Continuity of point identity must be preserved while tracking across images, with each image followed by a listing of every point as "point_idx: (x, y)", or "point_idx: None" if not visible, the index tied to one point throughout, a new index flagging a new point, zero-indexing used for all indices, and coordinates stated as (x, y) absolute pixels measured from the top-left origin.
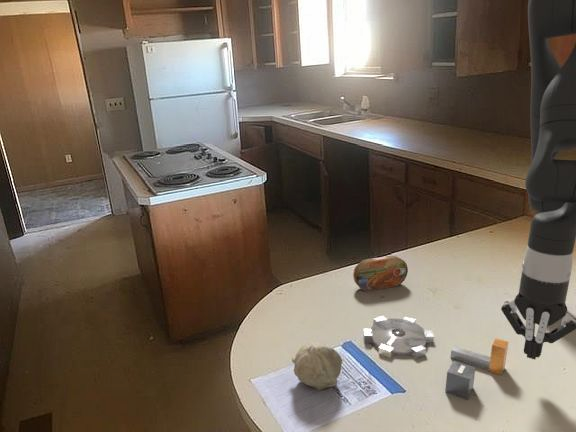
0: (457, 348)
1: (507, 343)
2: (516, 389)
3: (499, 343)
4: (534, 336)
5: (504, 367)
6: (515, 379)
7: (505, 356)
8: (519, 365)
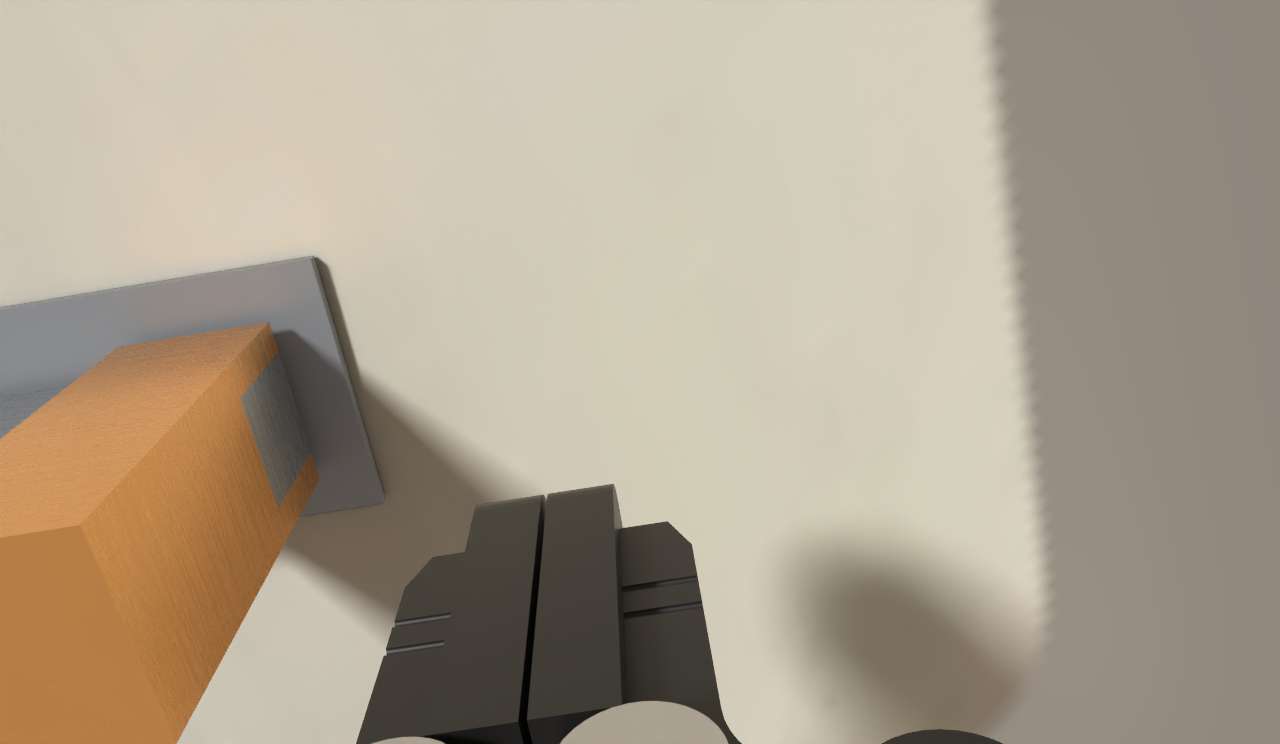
0: None
1: (102, 586)
2: None
3: (8, 665)
4: (498, 726)
5: (269, 350)
6: (452, 393)
7: (216, 501)
8: (362, 81)
